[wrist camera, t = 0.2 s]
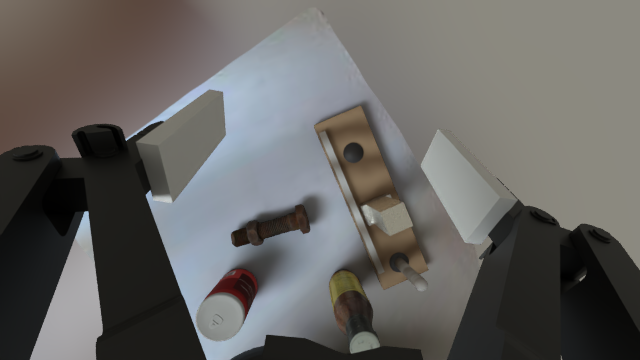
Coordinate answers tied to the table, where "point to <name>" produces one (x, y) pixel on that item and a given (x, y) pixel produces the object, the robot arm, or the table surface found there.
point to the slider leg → (386, 214)
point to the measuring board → (370, 196)
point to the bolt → (271, 228)
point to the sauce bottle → (353, 311)
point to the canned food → (227, 306)
